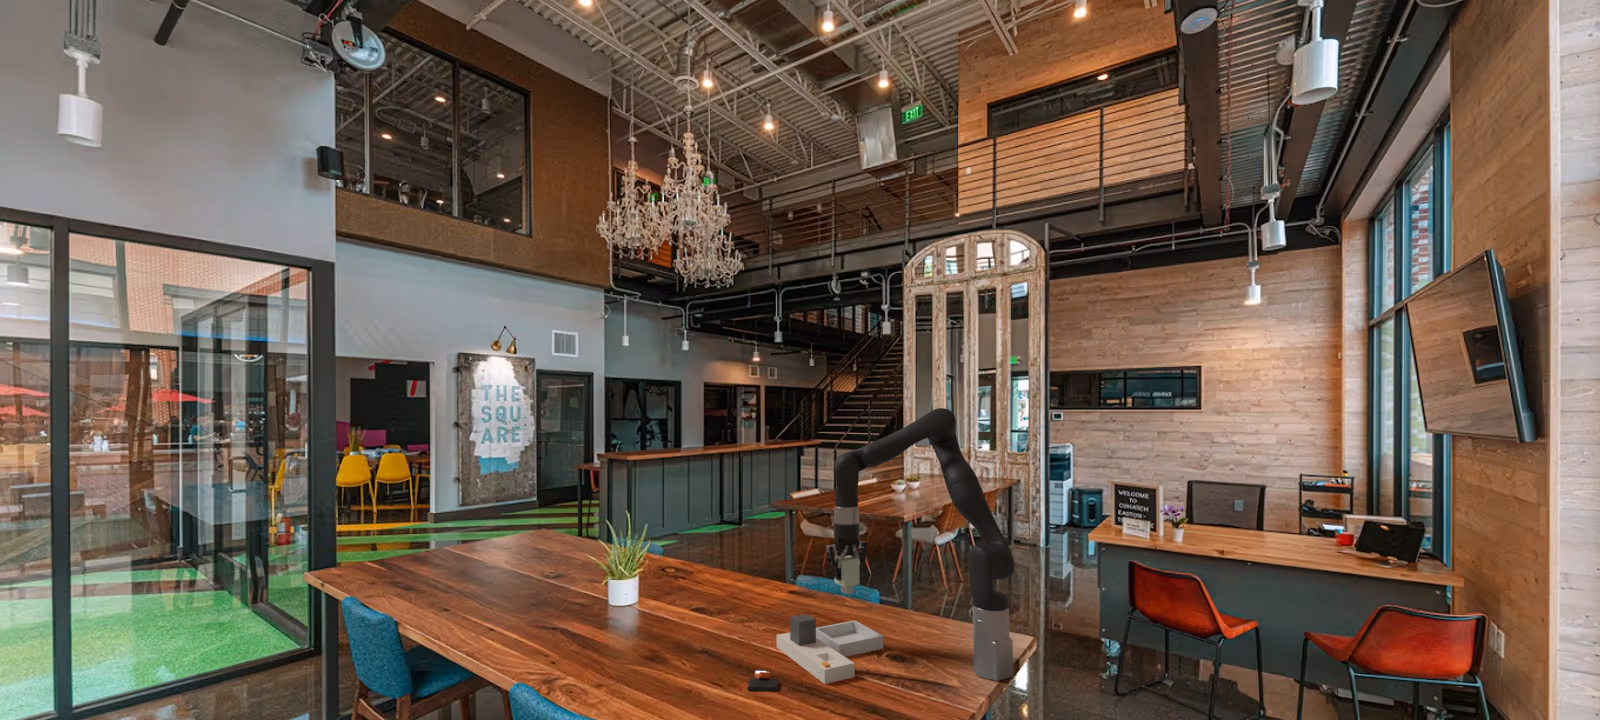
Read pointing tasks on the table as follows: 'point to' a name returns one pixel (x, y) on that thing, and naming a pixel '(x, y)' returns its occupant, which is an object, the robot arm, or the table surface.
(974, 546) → the robot arm
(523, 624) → the table surface
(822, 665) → the flat gray board
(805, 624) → the block
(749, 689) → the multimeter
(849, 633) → the tray
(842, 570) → the block
